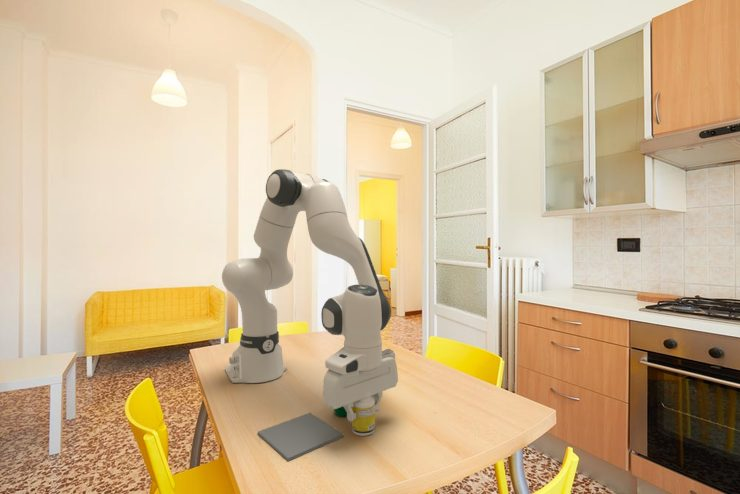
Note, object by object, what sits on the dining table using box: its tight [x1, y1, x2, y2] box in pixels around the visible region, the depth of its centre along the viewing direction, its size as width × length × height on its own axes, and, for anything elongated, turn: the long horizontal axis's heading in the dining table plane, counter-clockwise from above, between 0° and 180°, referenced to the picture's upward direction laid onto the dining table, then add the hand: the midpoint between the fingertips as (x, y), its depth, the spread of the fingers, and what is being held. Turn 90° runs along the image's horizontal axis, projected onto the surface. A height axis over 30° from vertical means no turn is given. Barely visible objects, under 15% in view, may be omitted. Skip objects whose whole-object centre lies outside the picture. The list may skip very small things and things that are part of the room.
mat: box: [257, 412, 345, 462], centre depth 83 cm, size 14×14×1 cm
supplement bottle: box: [351, 390, 376, 437], centre depth 85 cm, size 5×5×10 cm
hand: (363, 415), depth 85 cm, fingers closed on supplement bottle, 5 cm apart
